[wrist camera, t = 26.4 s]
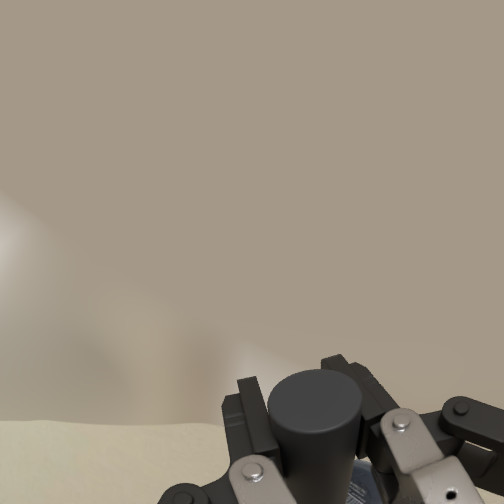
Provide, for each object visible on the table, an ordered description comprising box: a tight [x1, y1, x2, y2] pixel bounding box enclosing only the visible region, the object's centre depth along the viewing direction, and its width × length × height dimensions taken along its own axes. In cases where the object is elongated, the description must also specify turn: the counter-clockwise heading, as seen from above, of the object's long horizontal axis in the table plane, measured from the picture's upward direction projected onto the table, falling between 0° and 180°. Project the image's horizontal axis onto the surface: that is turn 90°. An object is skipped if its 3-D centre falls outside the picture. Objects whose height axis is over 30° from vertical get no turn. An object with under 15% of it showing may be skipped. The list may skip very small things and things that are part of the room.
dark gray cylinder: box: [267, 369, 363, 504], centre depth 9 cm, size 3×3×10 cm
